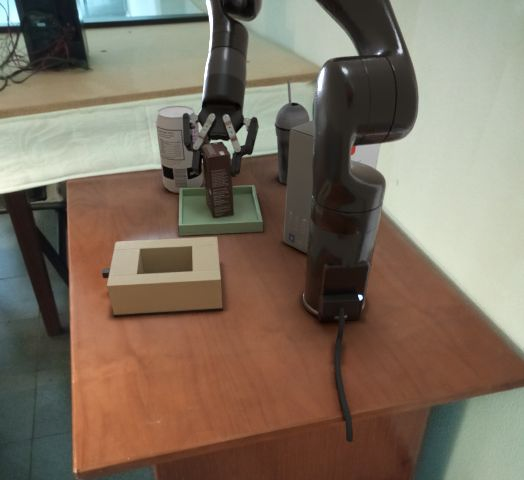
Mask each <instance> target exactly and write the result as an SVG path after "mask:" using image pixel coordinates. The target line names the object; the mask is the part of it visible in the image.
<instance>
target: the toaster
mask: <svg viewBox="0 0 524 480" xmlns="http://www.w3.org/2000/svg"><path fill="white" fill-rule="evenodd" d="M219 254H220V253H219V243H218V236H203V237H201V236H200V237H181V238H163V239H160V238H159V239H142V240H123V241H115V243H114V248H113V253H112V258H111V263H110V267H109V268H102V272H101V274H102V278H103V279H107V283H106V288H107V293H108V296H109V297H108V298H109V301H110V304H111V309H112V316H113V317H114V318H117V317H131V316H132V317H133V316H147V315H148V316H149V315H163V314H165V315H166V314H179V313H193V312H194V313H195V312H196V313H197V312H209V311H210V312H211V311H223V310H224V304H223V303H224V301H223V290H222V278H221V277H222V276H221V266H220V255H219Z"/></svg>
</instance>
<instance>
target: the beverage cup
mask: <svg viewBox="0 0 524 480" xmlns="http://www.w3.org/2000/svg"><path fill="white" fill-rule="evenodd" d="M286 81H287V97H288V103H286V104H284V105H283V106H281V108H280V109H278V112H277V114H276V116H275V122H274V127H275V136H276V145H277V164H278V165H277V166H278V175H279V177H278V178H279V182H280V183H281V184H283V185H284V184H285V185H287V176H288V159H289V139H290V130H291V128H293V127H296V126H298V125H301V124H304V123H307V122H309V121H311V120H310V115H309V112H308V110H307V109H306V108H305V107H304V106H303V105H302V104H300V103H298V102H292V91H291V78H290V77H287V78H286Z"/></svg>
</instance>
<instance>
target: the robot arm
mask: <svg viewBox="0 0 524 480" xmlns="http://www.w3.org/2000/svg"><path fill="white" fill-rule="evenodd" d="M314 1H315V2H316V3H317V4H318V5H319V7H320V8H321V9H322V10H323V11H324V12H325V13H326V14H327V15H328V16H329V18H330V19H332V20H333V21H334V22H335V24H337V25H338V26H339V27H340V28H341V30H343V32H344V34H346V35H347V37H348V38H349V40H350V42H351V43H352V45H353V47H354V49H355V51H356V54H357V55H347V56H346V55H345V56H337V57H335V56H334V57H332V58H329V59H327V60H326V61H325V62H324V63H323V65H322V66H321V68H320V70H319V72H318V75H317V78H316V83H315V90H314V101H313V120H314V136H313V157H312V173H313V189H312V201H311V214H310V224H309V237H308V249H307V254H306V262H305V263H306V264H305V273H304V277H305V278H304V288H303V294H302V304H303V307H304V308H305V309H306V310H307V312H308V313H310V314H312V315H313V316H315V317H317V319H318V322H320V323H325V322H326V323H327V322H338V328H337V329H338V331H337V335H336V338H335V339H336V340H335V347H334V373H335V382H336V387H337V392H338V399H339V403H340V407H341V409H342V413H343V416H344V417H343V418H344V422H345V437H346V439H345V440H346V441H347V442H348V443H352V442H354V435H353V434H354V433H353V431H354V429H353V420H352V415H351V410H350V408H349V405H348V401H347V397H346V393H345V392H346V391H345V387H344V382H343V376H342V367H341V366H342V365H341V352H342V342H343V337H344V331H345V321H356V320H360V319H361V317H362V312H364V309H365V305H366V296H367V291H368V290H367V289H368V285H369V279H370V274H371V268H372V263H373V258H374V257H373V256H374V253H375V247H376V242H377V236H378V232H379V231H378V230H379V227H380V221H381V215H382V211H383V210H382V209H383V206H384V200H385V195H386V188H387V182H386V178H385V175H383V173H382V172H381V171H379V170H378V169H377V168H376V169H375V168H373V167H371V166H369V165H366V164H363V163H360V162H356V161H353V160H351V148H352V146H362V145H372V144H388V143H393V142H398V141H401V140H403V139H405V138H406V137H408V135H409V134H411V132H412V130H413V129H414V127H415V124H416V122H417V119H418V114H419V103H420V101H419V99H420V96H419V95H420V94H419V84H418V78H417V74H416V70H415V66H414V63H413V60H412V57H411V53H410V51H409V49H408V45H407V43H406V40H405V37H404V35H403V32H402V29H401V27H400V25H399V21H398V19H397V16H396V14H395V11H394V8H393V6H392V2H391V0H314ZM205 4H206V9H207V14H208V21H209V31H210V32H209V35H210V36H209V43H208V52H207V53H208V54H207V59H206V63H205V70H204V79H203V87H202V98H201V107H200V110H199V112H198V113H197V114H195V115H192V116H189V114H188V113H184V114H183V142H184V145H185V147H186V149H187V150H188V151H192V152H193V157H192V168H193V170H194V171H195V173H196V175H201V167H202V168H203V159H202V148H201V146H202V144H207V143H211V142H212V141H222V142H229V141H230V143H231V145H232V148H233V152H232V156H231V175H232V178H237V175H240V173H241V168H242V167H241V166H242V158H243V157H244V156H251V155H252V154H253V152H254V148H255V144H256V140H257V137H258V132H259V128H260V125H259V120H258V118H257V117H256V116H252V117H251V118H249V117H245V116H244V103H245V95H246V88H247V75H248V73H247V71H248V69H247V63H248V62H247V60H248V51H249V42H250V41H249V40H250V36H249V35H250V34H249V32H248V29H247V27H246V26H245V25H244V24H243V23H242V22H246V23H250V22H253V20H255V19H257V18H258V17H259V15H260V13H261V11H262V8H263V7H262V6H263V0H205ZM240 21H241V22H240ZM197 123H198V124H200V126H201V129H200V130H199V134H198V138H197V140H196V141H195V143H193V130H192V129H194V128H195V127H196V124H197ZM244 126H245V130H246V132H247V134H246V138H245V141H244V142H245V143H244V144H243V145H240V141H239V139H238V137H237V134H238V132H239V131H240V130H241V129H242V128H243V127H244Z"/></svg>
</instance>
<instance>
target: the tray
mask: <svg viewBox="0 0 524 480" xmlns="http://www.w3.org/2000/svg"><path fill="white" fill-rule="evenodd" d="M232 188H233V206H234V215H232V216H227V217H219V218H213V216H212V214H211V211H210V210H209V207H208V206H207V202H206V192H205V186H200V187H198V188H180V190H179V193H178V194H179V196H178V197H179V198H178V231H179V232H178V233H179V236H180V237H181V236H202V235H203V236H205V235H221V234H241V233H263V231H264V230H263V229H264V227H263V226H264V222H263V221H264V220H263V216H262V212H261V208H260V204H259V200H258V194H257V190H256V186H255V185H254V184H251V185H247V184H246V185H232Z"/></svg>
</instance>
